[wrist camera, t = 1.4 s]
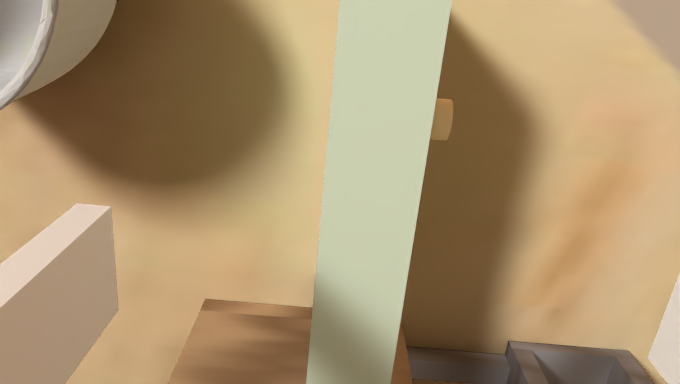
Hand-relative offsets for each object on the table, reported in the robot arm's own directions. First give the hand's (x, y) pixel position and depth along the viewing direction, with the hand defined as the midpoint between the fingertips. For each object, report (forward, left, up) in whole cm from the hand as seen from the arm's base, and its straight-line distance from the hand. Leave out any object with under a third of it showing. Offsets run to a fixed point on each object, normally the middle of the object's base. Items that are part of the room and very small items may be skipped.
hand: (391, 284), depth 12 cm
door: (0, 0, -12) cm, 12 cm away
